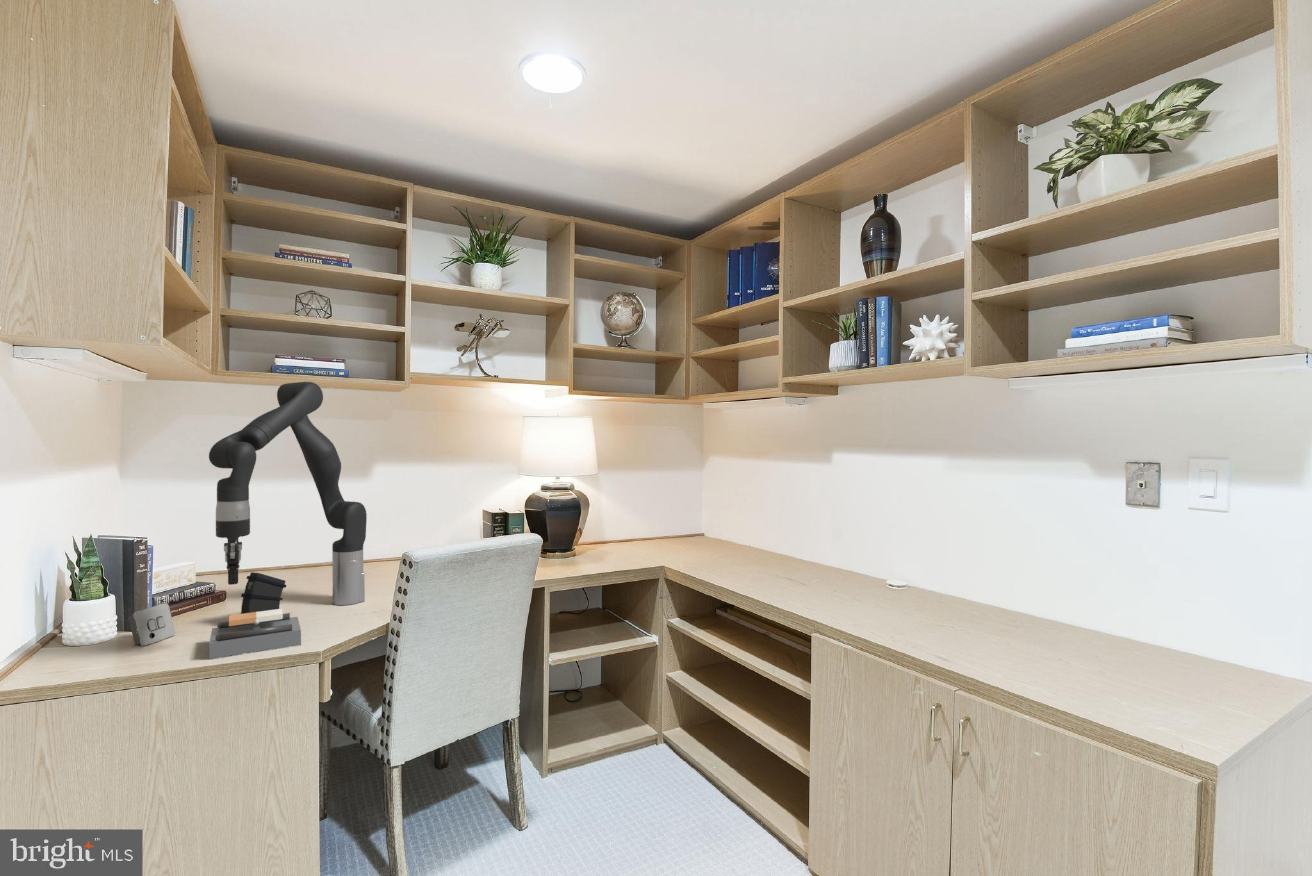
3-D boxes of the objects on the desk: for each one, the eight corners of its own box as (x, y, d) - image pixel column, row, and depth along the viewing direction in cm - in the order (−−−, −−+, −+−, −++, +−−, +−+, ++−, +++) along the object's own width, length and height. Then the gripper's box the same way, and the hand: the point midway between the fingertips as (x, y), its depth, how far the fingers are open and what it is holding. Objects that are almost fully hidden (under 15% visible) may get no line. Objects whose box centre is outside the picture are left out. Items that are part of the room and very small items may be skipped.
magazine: (228, 624, 182) (248, 571, 188) (265, 631, 194) (282, 581, 200) (239, 625, 181) (258, 572, 187) (274, 632, 193) (292, 582, 199)
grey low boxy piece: (297, 630, 182) (297, 611, 182) (301, 644, 170) (300, 624, 170) (212, 643, 171) (212, 622, 171) (209, 659, 159) (209, 637, 159)
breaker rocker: (281, 615, 176) (281, 608, 176) (282, 621, 171) (282, 613, 171) (229, 622, 170) (229, 615, 170) (228, 628, 165) (228, 621, 165)
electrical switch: (143, 647, 168) (140, 612, 168) (127, 647, 169) (124, 612, 169) (176, 636, 177) (173, 602, 177) (161, 636, 178) (158, 603, 178)
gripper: (250, 519, 164) (250, 587, 164) (250, 514, 175) (250, 577, 175) (214, 522, 160) (214, 591, 160) (216, 515, 171) (216, 580, 171)
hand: (233, 583), depth 168 cm, fingers closed
